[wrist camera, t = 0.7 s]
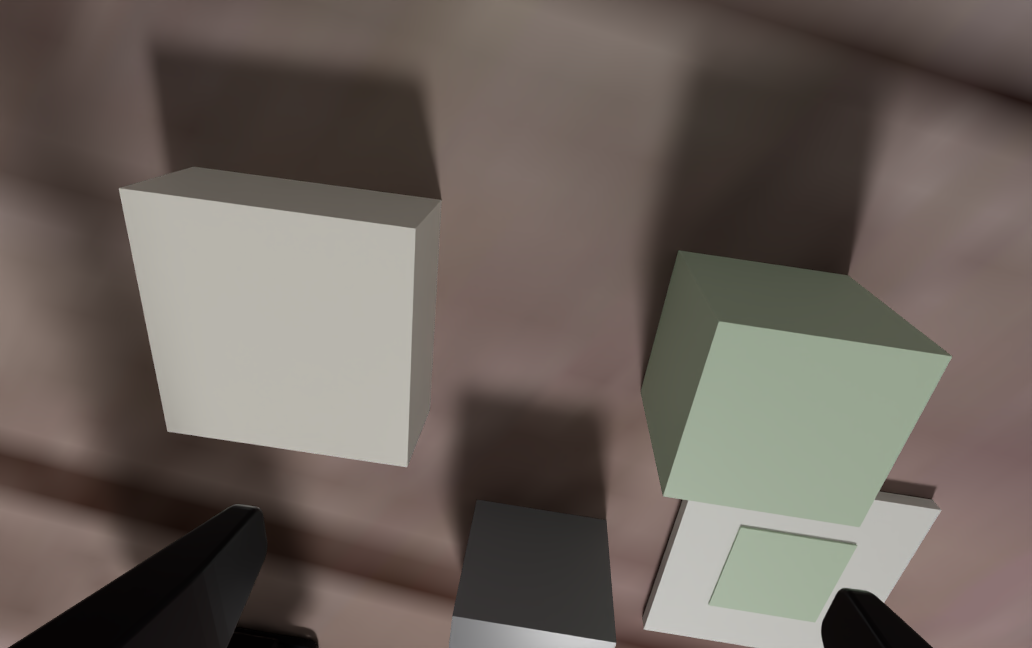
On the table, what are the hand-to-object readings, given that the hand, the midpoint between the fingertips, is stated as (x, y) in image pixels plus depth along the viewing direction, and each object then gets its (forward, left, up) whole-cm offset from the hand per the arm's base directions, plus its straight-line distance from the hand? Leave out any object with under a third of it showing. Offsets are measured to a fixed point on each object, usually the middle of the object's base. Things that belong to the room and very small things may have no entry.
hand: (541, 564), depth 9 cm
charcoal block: (-15, -1, -13) cm, 20 cm away
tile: (-13, -12, -13) cm, 22 cm away
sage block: (-2, -7, -13) cm, 15 cm away
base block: (-3, +9, -13) cm, 16 cm away
